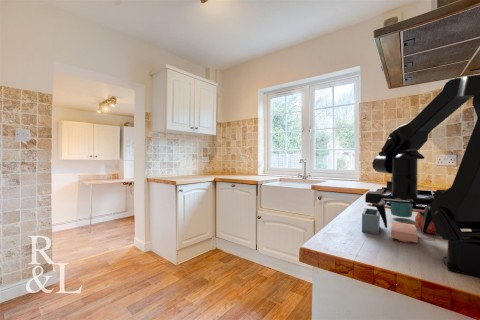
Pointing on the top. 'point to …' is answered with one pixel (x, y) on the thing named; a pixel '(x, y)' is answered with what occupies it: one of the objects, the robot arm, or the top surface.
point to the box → (370, 221)
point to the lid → (404, 232)
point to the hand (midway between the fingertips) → (404, 230)
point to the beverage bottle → (400, 208)
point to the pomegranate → (419, 222)
